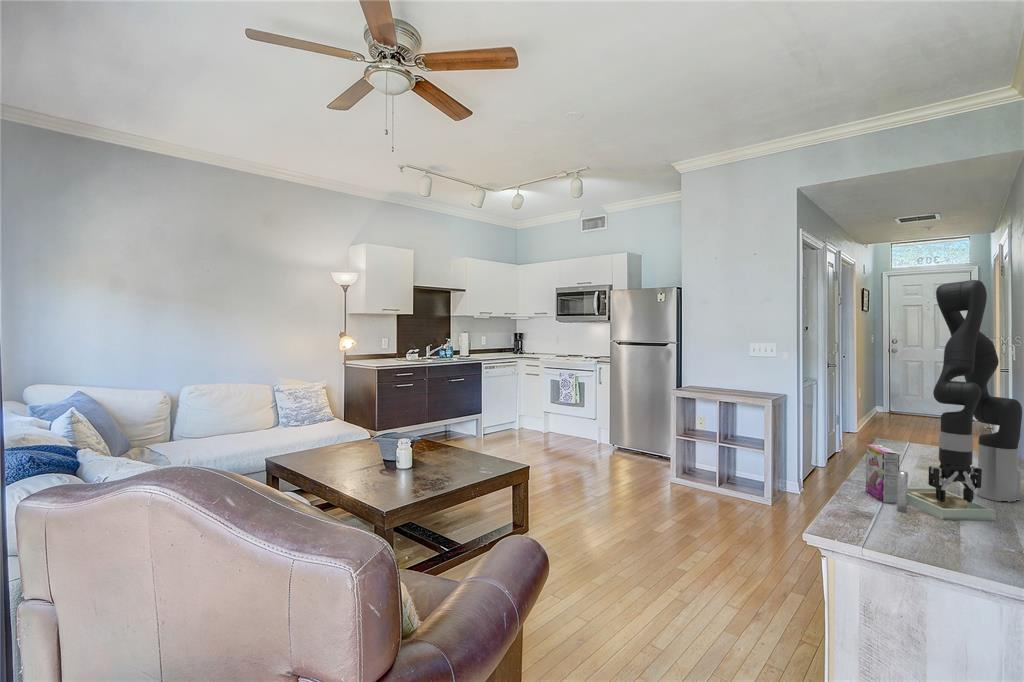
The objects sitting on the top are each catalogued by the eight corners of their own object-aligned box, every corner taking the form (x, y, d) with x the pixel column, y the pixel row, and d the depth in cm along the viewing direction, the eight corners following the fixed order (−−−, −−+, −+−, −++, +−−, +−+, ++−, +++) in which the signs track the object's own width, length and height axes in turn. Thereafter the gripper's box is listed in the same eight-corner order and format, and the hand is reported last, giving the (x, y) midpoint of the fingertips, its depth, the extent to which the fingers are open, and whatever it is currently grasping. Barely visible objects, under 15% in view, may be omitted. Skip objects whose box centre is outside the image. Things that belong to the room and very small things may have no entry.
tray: (936, 496, 163) (937, 487, 163) (995, 520, 143) (995, 510, 143) (891, 496, 163) (891, 487, 163) (942, 519, 143) (943, 509, 143)
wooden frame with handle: (909, 497, 160) (909, 485, 160) (937, 497, 160) (937, 485, 159) (946, 514, 146) (946, 500, 146) (977, 514, 146) (977, 501, 145)
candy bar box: (864, 491, 168) (865, 444, 168) (880, 492, 167) (881, 444, 167) (881, 503, 157) (883, 452, 157) (899, 504, 156) (900, 453, 156)
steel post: (902, 509, 152) (903, 470, 151) (908, 512, 149) (909, 473, 149) (894, 509, 152) (895, 470, 151) (900, 512, 149) (901, 473, 149)
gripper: (968, 444, 151) (966, 497, 152) (921, 444, 152) (920, 497, 152) (991, 450, 144) (990, 506, 144) (942, 450, 144) (940, 506, 145)
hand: (954, 501), depth 148 cm, fingers open, 7 cm apart
